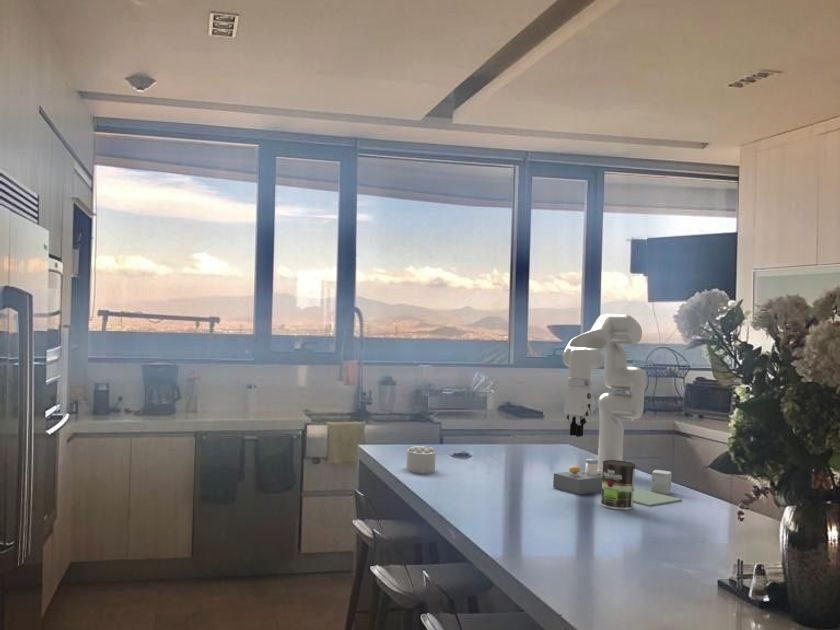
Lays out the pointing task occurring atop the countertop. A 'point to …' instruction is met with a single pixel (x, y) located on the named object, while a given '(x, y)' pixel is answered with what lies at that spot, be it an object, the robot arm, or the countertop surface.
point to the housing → (578, 482)
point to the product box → (661, 481)
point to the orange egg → (574, 470)
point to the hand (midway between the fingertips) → (576, 435)
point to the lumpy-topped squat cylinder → (421, 459)
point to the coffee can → (618, 484)
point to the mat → (652, 498)
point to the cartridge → (591, 467)
